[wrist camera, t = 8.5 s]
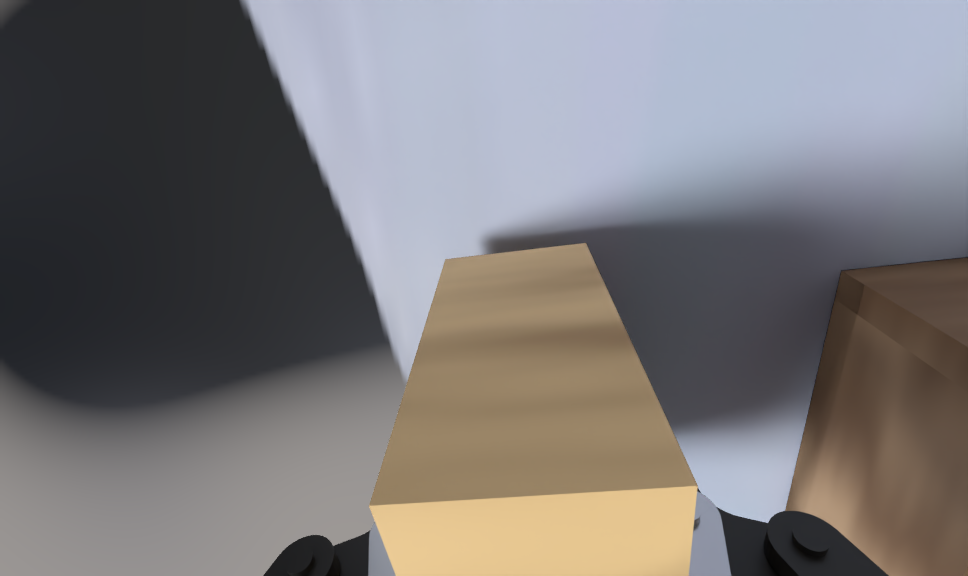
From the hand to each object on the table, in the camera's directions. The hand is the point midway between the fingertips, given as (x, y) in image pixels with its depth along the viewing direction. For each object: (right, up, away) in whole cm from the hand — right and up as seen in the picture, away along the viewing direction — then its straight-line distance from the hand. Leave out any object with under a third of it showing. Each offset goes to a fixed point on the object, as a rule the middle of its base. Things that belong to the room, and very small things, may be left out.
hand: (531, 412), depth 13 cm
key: (0, +1, +2) cm, 2 cm away
